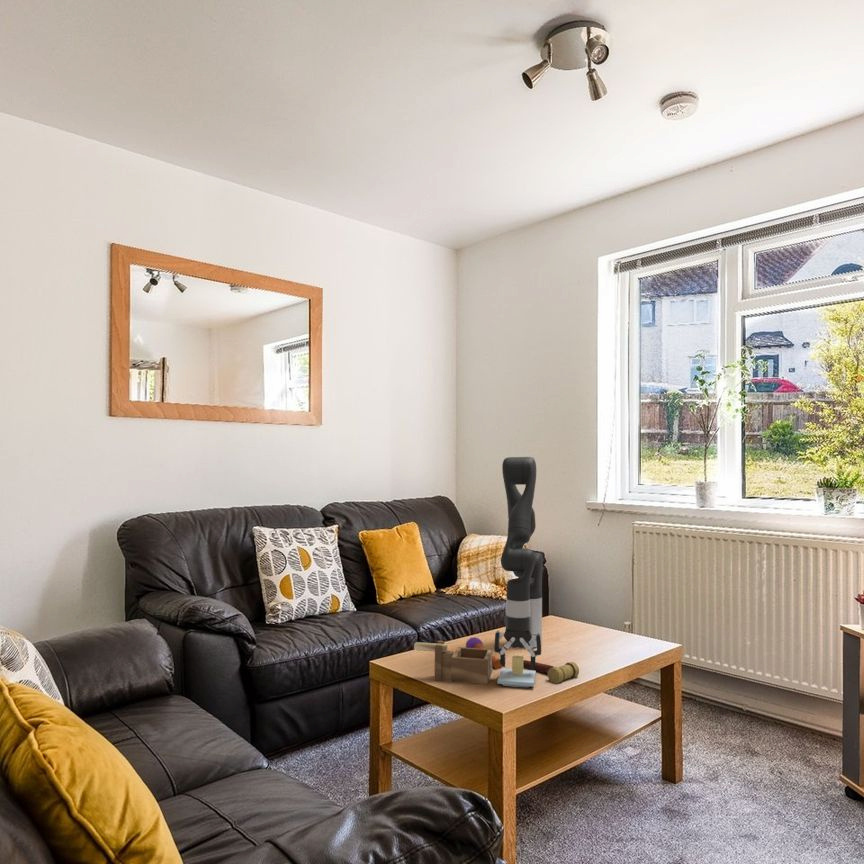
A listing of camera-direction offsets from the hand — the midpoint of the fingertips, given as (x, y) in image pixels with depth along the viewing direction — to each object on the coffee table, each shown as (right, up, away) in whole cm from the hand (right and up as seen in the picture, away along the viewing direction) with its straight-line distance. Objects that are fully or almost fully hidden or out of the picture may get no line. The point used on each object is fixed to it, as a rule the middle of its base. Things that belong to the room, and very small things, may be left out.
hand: (517, 667), depth 205 cm
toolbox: (-16, -4, +2) cm, 17 cm away
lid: (0, -4, -2) cm, 5 cm away
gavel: (+9, -5, +7) cm, 12 cm away
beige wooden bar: (-27, +5, +1) cm, 27 cm away
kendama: (-9, -5, +19) cm, 22 cm away
